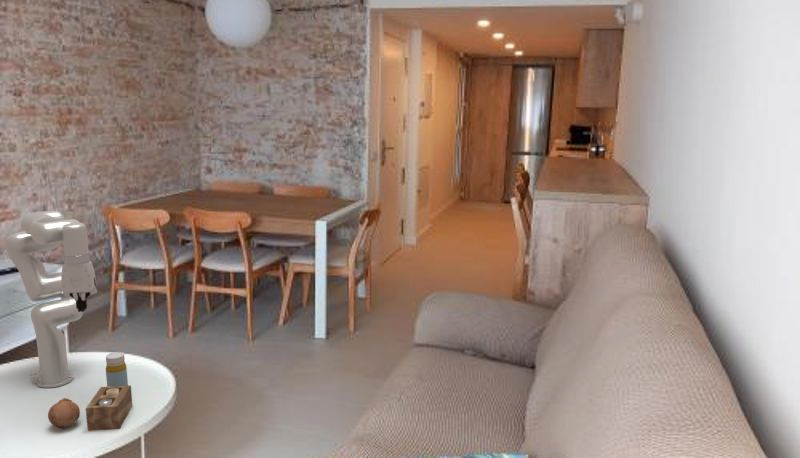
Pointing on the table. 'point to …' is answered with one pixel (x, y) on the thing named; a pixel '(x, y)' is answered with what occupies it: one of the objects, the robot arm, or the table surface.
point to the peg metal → (105, 402)
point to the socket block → (109, 409)
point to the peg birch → (112, 391)
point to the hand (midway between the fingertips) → (82, 310)
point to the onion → (64, 413)
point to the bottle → (116, 370)
